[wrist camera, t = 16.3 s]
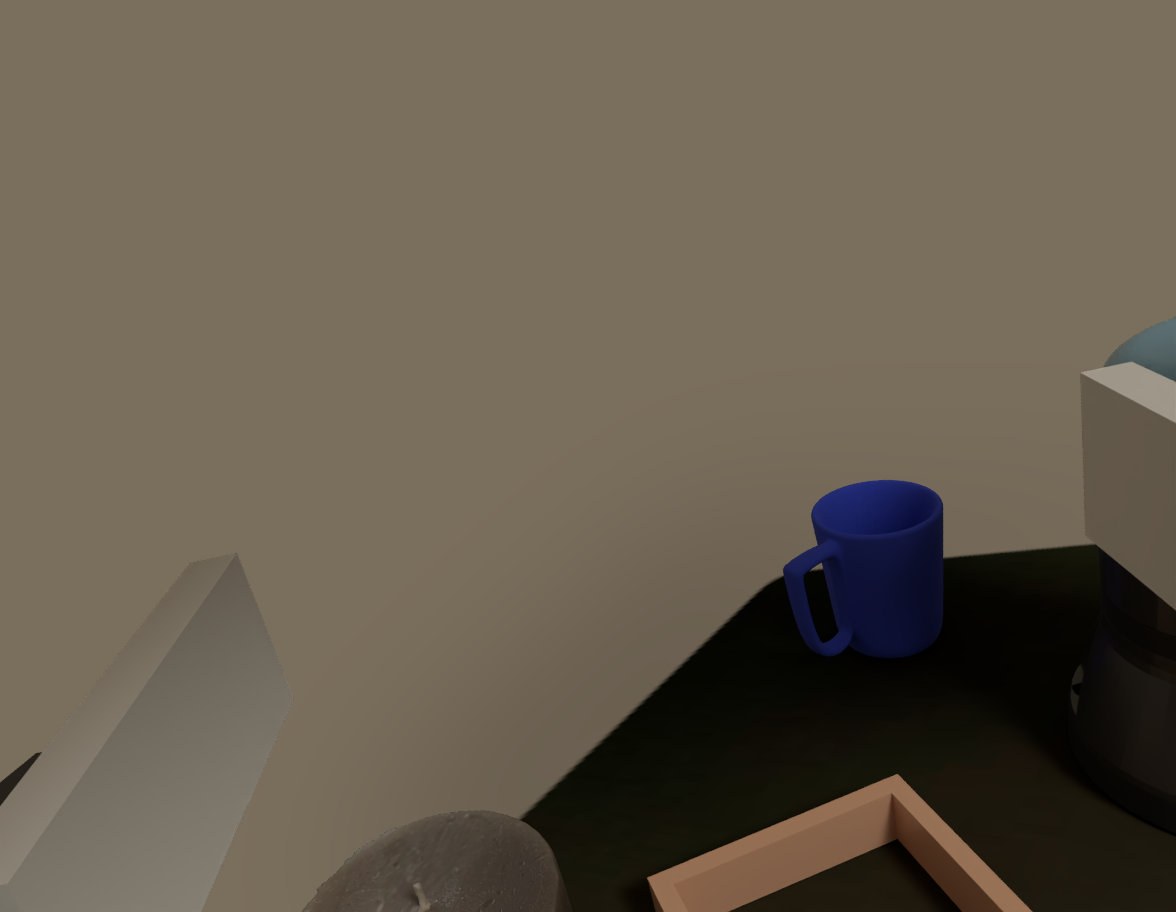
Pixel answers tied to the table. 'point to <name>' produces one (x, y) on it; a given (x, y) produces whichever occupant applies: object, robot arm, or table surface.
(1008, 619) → the table surface
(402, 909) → the pillar candle
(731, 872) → the holder
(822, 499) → the mug
